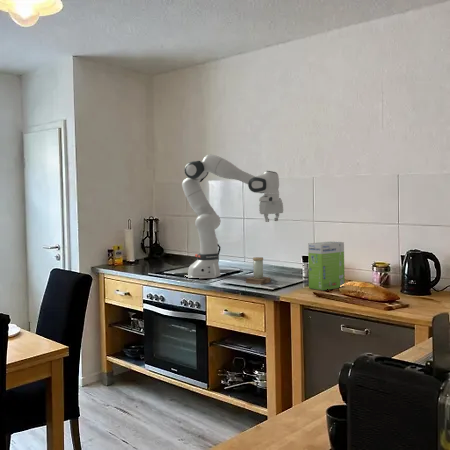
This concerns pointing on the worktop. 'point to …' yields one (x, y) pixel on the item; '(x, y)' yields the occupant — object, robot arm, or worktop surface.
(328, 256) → the toothbrush box
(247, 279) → the walnut base
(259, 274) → the spice jar
